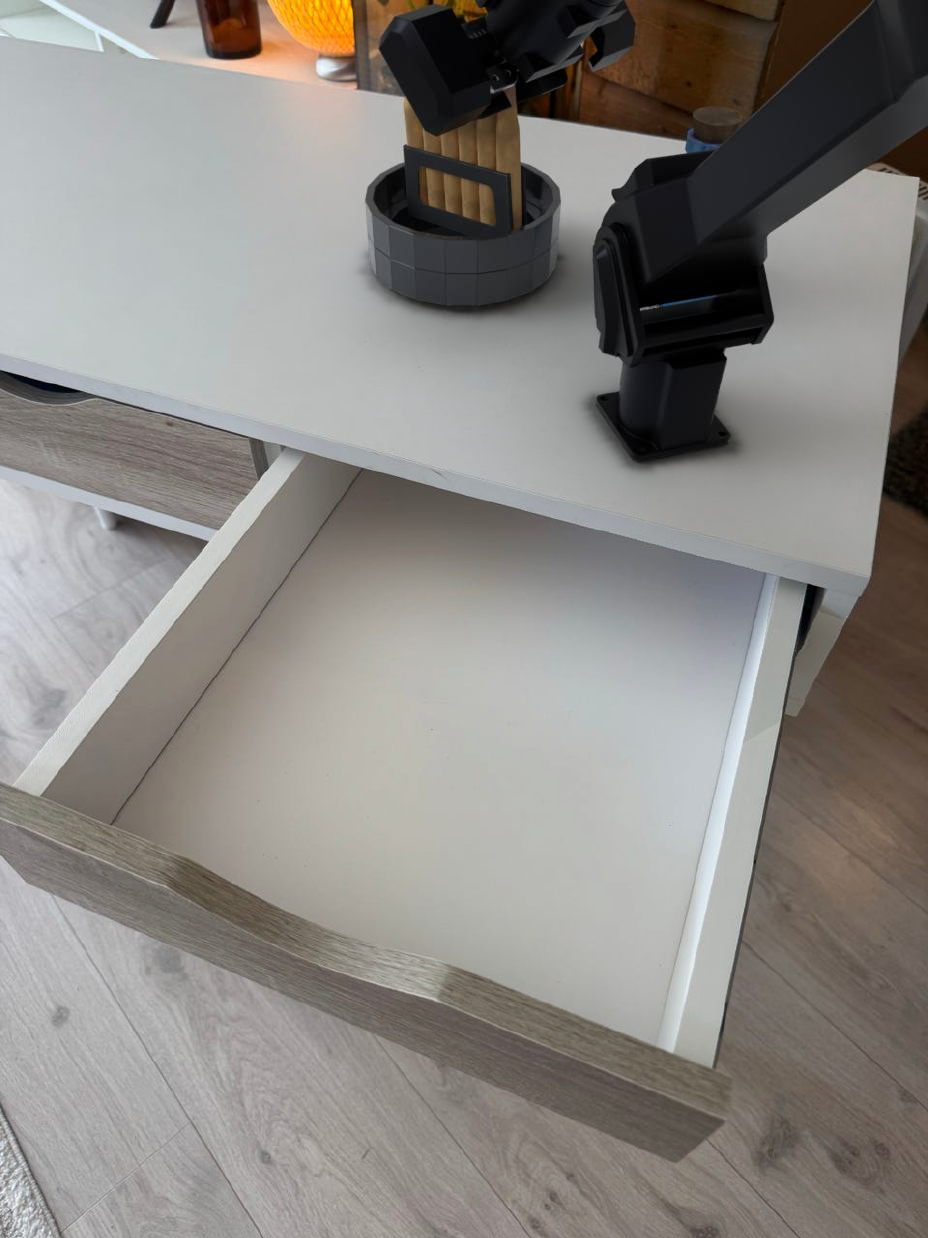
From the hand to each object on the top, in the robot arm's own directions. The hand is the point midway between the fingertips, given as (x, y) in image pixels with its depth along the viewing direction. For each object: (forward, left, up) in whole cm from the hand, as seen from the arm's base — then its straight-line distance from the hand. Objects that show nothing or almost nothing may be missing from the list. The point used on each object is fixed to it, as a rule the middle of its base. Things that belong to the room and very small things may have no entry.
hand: (449, 118), depth 65 cm
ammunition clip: (-1, -1, -7) cm, 8 cm away
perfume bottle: (-10, -15, -10) cm, 21 cm away
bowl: (-1, -1, -10) cm, 10 cm away
